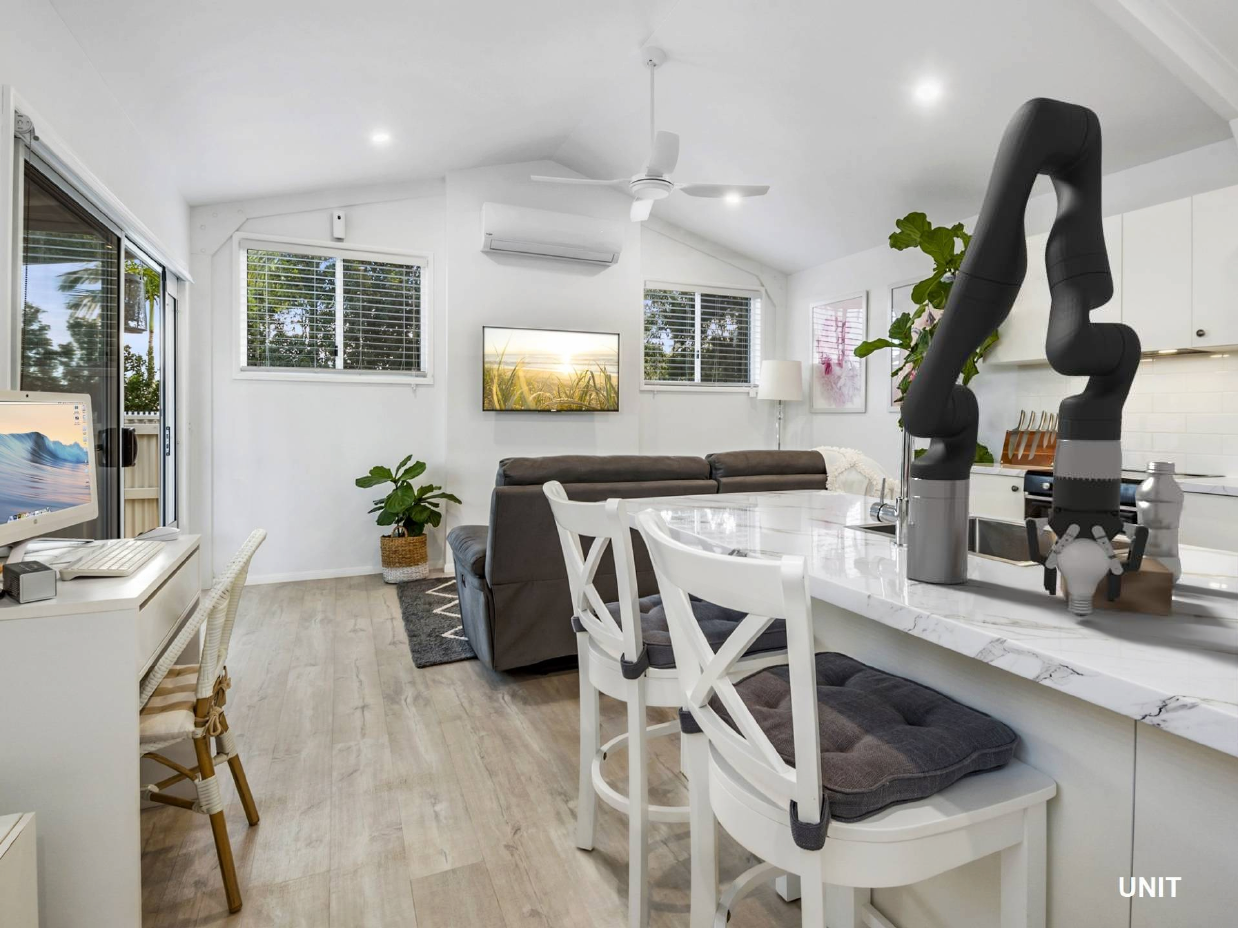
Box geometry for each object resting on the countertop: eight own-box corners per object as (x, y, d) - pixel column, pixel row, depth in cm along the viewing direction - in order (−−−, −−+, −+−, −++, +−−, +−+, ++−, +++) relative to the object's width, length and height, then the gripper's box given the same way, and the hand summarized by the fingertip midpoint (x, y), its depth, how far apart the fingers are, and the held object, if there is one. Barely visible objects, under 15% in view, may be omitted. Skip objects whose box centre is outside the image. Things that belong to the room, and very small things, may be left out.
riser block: (1067, 605, 100) (1069, 564, 100) (1060, 587, 111) (1061, 550, 110) (1171, 615, 94) (1173, 573, 94) (1152, 595, 105) (1154, 557, 105)
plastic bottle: (1138, 586, 111) (1143, 463, 110) (1125, 577, 117) (1130, 461, 116) (1187, 590, 108) (1193, 464, 107) (1171, 580, 115) (1177, 461, 113)
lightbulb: (1042, 608, 96) (1045, 531, 95) (1088, 609, 96) (1092, 531, 95) (1070, 622, 90) (1074, 539, 89) (1119, 623, 90) (1124, 540, 89)
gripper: (1025, 473, 92) (1020, 597, 93) (1160, 478, 85) (1152, 611, 86) (1023, 469, 98) (1018, 585, 99) (1148, 473, 91) (1141, 597, 92)
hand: (1080, 596), depth 93 cm, fingers closed on lightbulb, 6 cm apart
